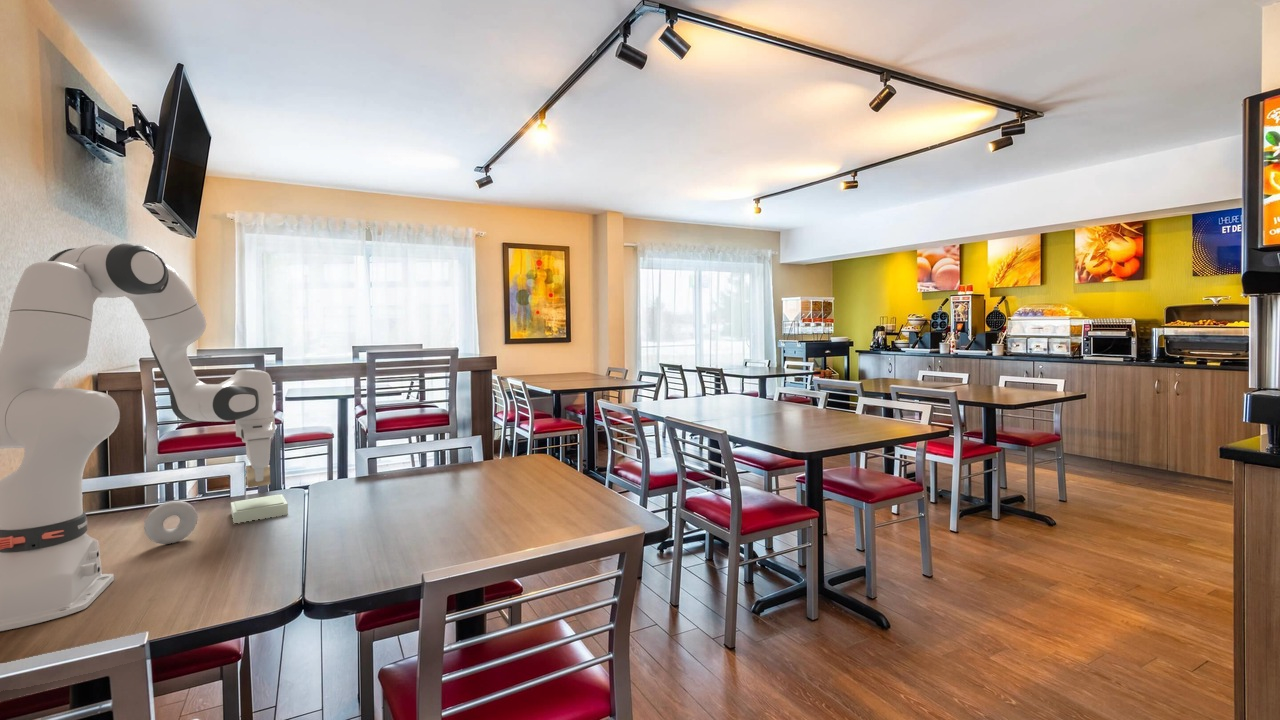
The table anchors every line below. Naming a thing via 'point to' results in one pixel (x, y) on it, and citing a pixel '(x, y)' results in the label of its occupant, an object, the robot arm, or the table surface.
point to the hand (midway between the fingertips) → (258, 478)
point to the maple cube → (251, 477)
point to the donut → (160, 513)
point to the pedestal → (259, 508)
